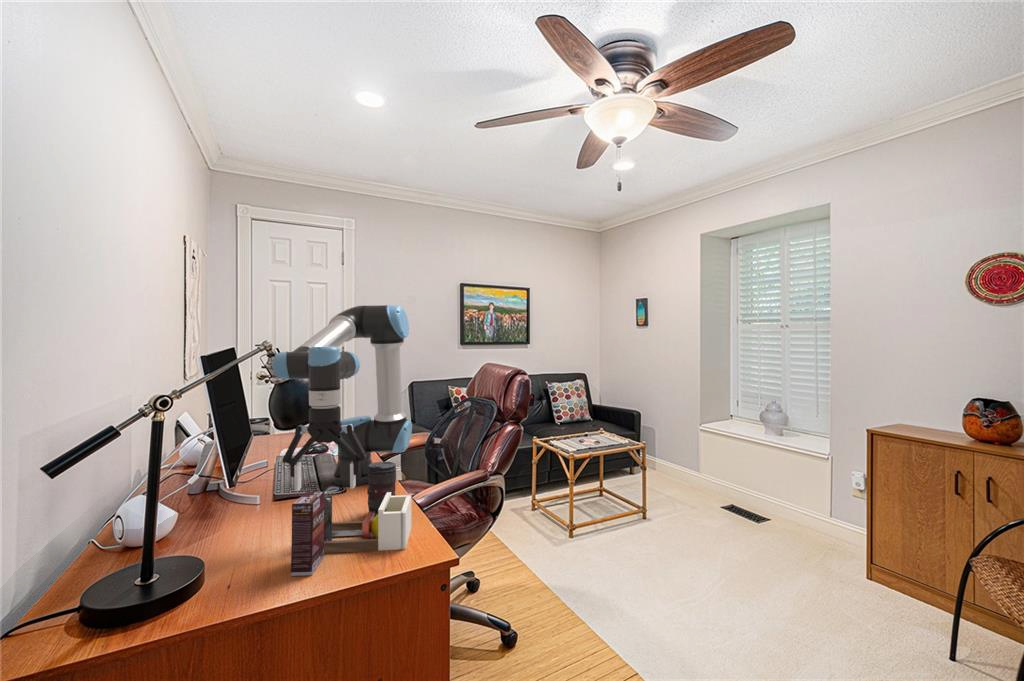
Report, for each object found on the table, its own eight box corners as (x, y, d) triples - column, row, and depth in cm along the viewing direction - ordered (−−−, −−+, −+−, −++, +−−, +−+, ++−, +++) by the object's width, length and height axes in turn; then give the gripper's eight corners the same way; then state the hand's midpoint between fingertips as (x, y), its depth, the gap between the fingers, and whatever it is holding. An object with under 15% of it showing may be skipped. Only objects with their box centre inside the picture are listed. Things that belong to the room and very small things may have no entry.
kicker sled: (321, 534, 120) (321, 492, 121) (374, 532, 122) (374, 491, 122) (312, 548, 113) (312, 503, 113) (368, 545, 114) (368, 501, 114)
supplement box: (312, 576, 100) (312, 503, 100) (290, 577, 99) (290, 504, 99) (325, 557, 108) (325, 490, 108) (304, 558, 108) (304, 491, 108)
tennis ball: (365, 543, 116) (365, 515, 116) (381, 532, 123) (381, 506, 123) (389, 547, 114) (389, 519, 114) (404, 535, 121) (404, 509, 121)
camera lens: (388, 521, 130) (388, 468, 130) (362, 519, 132) (362, 467, 132) (400, 510, 138) (400, 461, 138) (376, 508, 140) (376, 460, 140)
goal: (386, 528, 125) (386, 492, 125) (411, 527, 126) (411, 491, 126) (378, 550, 112) (378, 509, 112) (405, 549, 113) (405, 508, 113)
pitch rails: (322, 531, 123) (322, 522, 123) (386, 528, 125) (386, 519, 125) (306, 554, 110) (306, 544, 110) (378, 550, 112) (378, 540, 112)
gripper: (267, 409, 112) (268, 495, 112) (371, 407, 114) (372, 491, 115) (279, 404, 119) (280, 485, 119) (377, 402, 122) (377, 481, 122)
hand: (325, 488), depth 117 cm, fingers open, 13 cm apart
